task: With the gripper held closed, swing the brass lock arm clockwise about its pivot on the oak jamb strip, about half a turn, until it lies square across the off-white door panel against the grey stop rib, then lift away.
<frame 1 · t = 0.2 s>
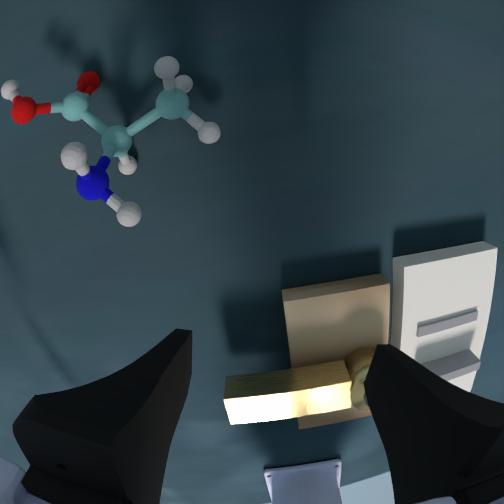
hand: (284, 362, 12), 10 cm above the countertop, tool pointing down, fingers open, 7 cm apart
door panel: (435, 330, 23), on the countertop
jamb strip: (335, 353, 23), on the countertop
lock arm: (311, 392, 19), point 4 cm above the countertop, hinge at 90.0°
molecular model: (131, 132, 19), on the countertop
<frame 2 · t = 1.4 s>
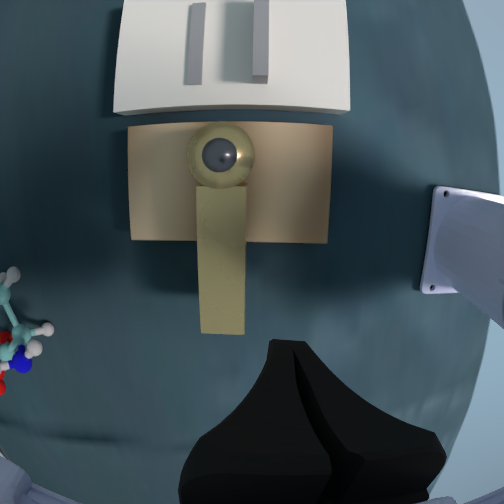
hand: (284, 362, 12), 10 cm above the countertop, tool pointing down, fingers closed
door panel: (232, 48, 17), on the countertop
jamb strip: (229, 179, 20), on the countertop
lock arm: (222, 231, 17), point 4 cm above the countertop, hinge at 90.0°
molecular model: (34, 319, 24), on the countertop
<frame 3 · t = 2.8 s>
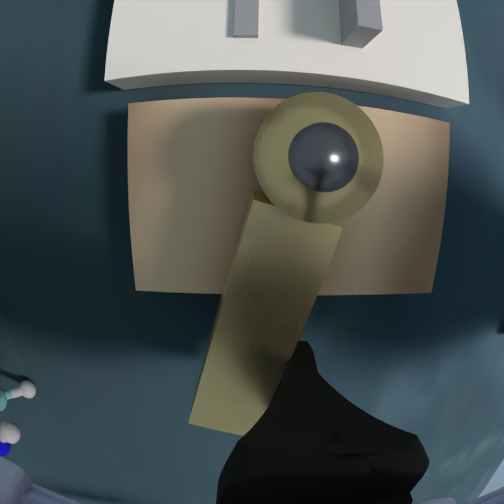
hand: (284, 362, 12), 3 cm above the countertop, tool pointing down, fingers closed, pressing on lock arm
jamb strip: (291, 194, 13), on the countertop
lock arm: (268, 285, 10), point 4 cm above the countertop, hinge at 74.3°, touching gripper
molecular model: (10, 372, 16), on the countertop
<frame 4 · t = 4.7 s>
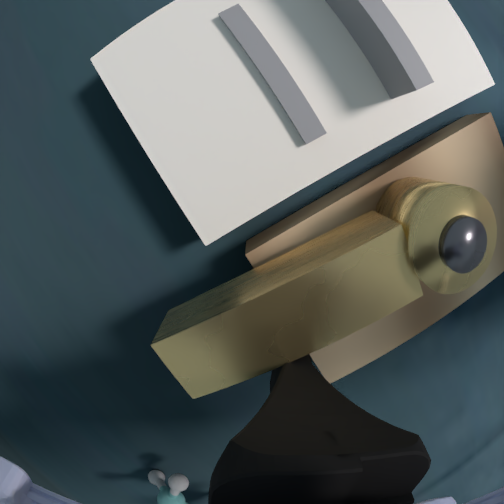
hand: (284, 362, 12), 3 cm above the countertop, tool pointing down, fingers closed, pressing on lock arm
door panel: (306, 58, 11), on the countertop
jamb strip: (403, 239, 13), on the countertop
lock arm: (331, 287, 10), point 4 cm above the countertop, hinge at -3.7°, touching gripper
molecular model: (215, 489, 19), on the countertop
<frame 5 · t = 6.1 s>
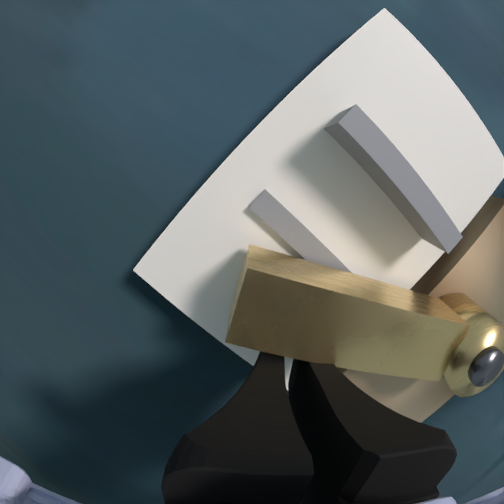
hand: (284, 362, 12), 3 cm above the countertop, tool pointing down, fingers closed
door panel: (335, 201, 13), on the countertop
jamb strip: (440, 321, 14), on the countertop
lock arm: (393, 330, 10), point 4 cm above the countertop, hinge at -63.5°, touching gripper
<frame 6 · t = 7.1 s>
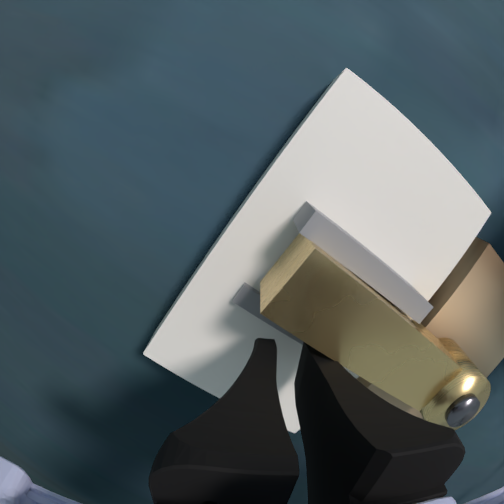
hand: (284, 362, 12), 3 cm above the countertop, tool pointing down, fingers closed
door panel: (315, 270, 14), on the countertop
jamb strip: (430, 354, 15), on the countertop
lock arm: (399, 352, 11), point 4 cm above the countertop, hinge at -91.4°, touching door panel, gripper
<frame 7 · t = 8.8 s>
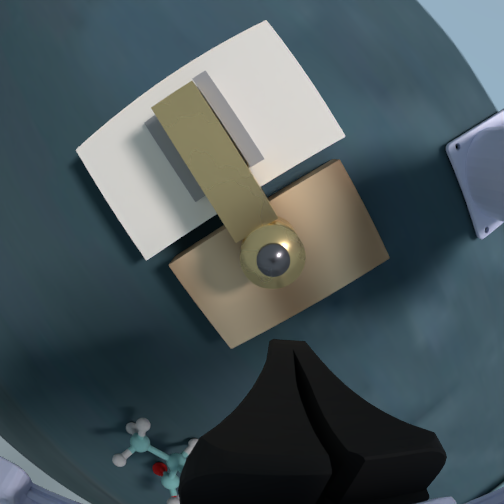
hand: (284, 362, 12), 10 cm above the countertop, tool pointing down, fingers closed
door panel: (206, 138, 19), on the countertop
jamb strip: (279, 253, 21), on the countertop
lock arm: (231, 186, 16), point 4 cm above the countertop, hinge at -91.0°
molecular model: (177, 442, 27), on the countertop
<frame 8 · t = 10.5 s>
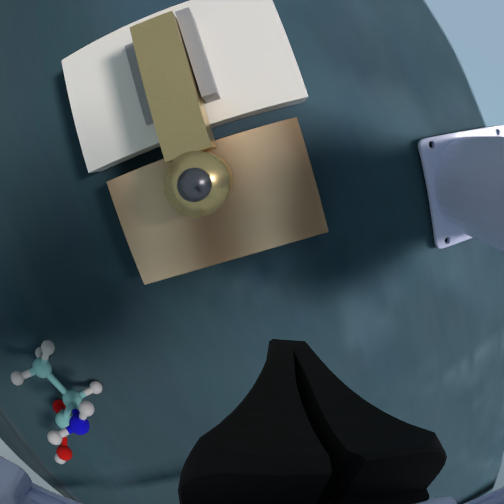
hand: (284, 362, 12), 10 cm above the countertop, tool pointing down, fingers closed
door panel: (178, 74, 18), on the countertop
jamb strip: (217, 200, 20), on the countertop
lock arm: (179, 111, 15), point 4 cm above the countertop, hinge at -91.0°
molecular model: (80, 381, 25), on the countertop
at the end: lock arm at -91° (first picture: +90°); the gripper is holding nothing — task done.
